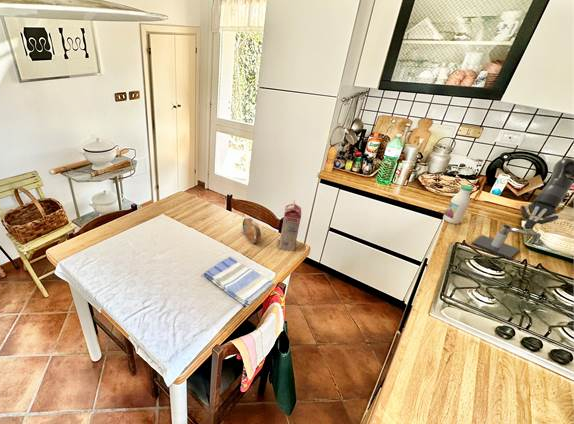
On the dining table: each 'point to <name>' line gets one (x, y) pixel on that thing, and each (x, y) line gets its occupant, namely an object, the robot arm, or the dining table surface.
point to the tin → (251, 230)
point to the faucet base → (498, 251)
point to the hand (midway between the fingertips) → (527, 228)
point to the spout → (506, 229)
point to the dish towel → (239, 281)
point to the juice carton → (290, 227)
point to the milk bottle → (458, 205)
